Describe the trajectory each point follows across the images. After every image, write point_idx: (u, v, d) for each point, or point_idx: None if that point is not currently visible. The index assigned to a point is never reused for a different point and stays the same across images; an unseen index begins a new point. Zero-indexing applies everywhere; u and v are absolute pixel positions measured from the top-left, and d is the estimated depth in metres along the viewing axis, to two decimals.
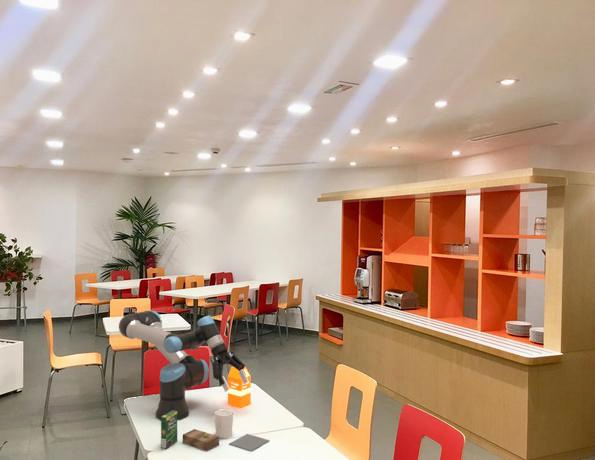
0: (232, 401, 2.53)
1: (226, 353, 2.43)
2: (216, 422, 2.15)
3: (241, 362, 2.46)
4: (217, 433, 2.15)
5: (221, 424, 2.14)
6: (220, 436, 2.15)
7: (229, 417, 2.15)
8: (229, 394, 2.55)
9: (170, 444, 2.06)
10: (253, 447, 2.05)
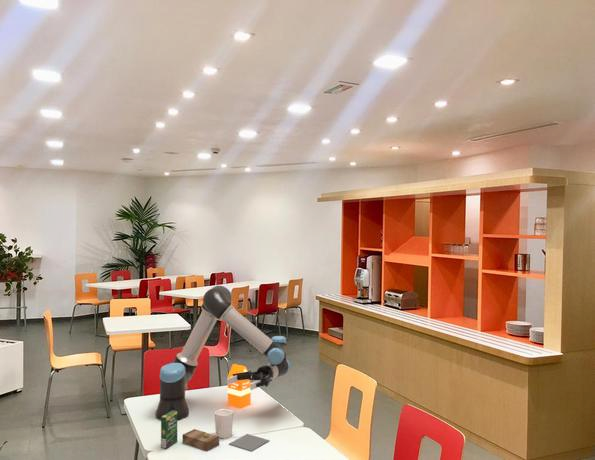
0: (232, 401, 2.53)
1: None
2: (216, 422, 2.15)
3: None
4: (217, 433, 2.15)
5: (221, 424, 2.14)
6: (220, 436, 2.15)
7: (229, 417, 2.15)
8: (229, 394, 2.55)
9: (170, 444, 2.06)
10: (253, 447, 2.05)
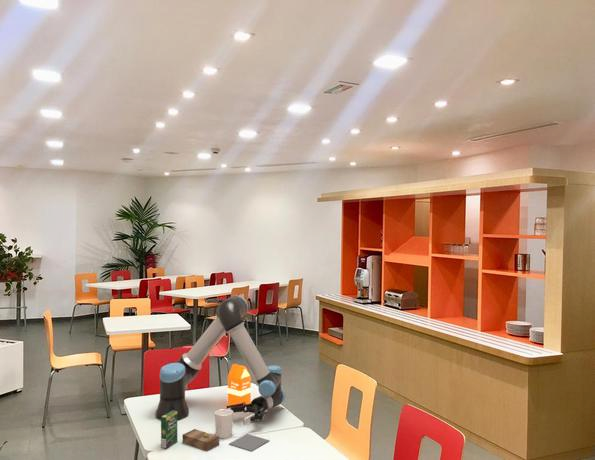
0: (232, 401, 2.53)
1: None
2: (216, 422, 2.15)
3: None
4: (217, 433, 2.15)
5: (221, 424, 2.14)
6: (220, 436, 2.15)
7: (229, 417, 2.15)
8: (229, 394, 2.55)
9: (170, 444, 2.06)
10: (253, 447, 2.05)
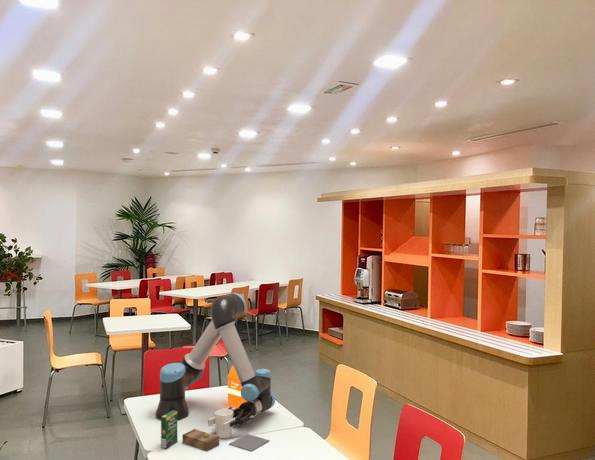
0: (232, 401, 2.53)
1: None
2: (216, 422, 2.15)
3: None
4: (217, 433, 2.15)
5: (221, 424, 2.14)
6: (220, 436, 2.15)
7: (229, 417, 2.15)
8: (229, 394, 2.55)
9: (170, 444, 2.06)
10: (253, 447, 2.05)
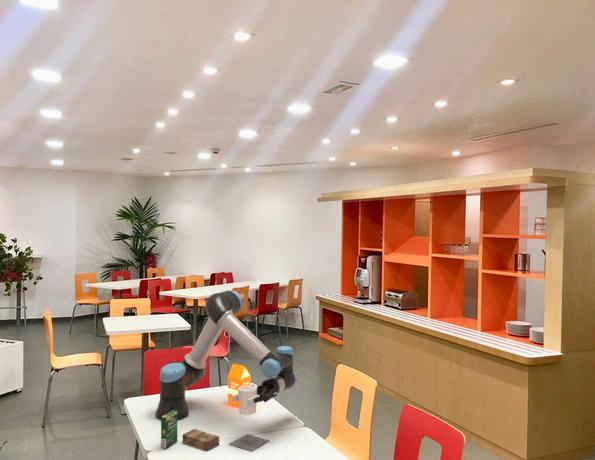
0: None
1: None
2: (240, 398, 2.08)
3: None
4: (241, 409, 2.08)
5: (245, 400, 2.07)
6: (244, 413, 2.08)
7: (254, 393, 2.08)
8: (229, 394, 2.55)
9: (170, 444, 2.06)
10: (253, 447, 2.05)
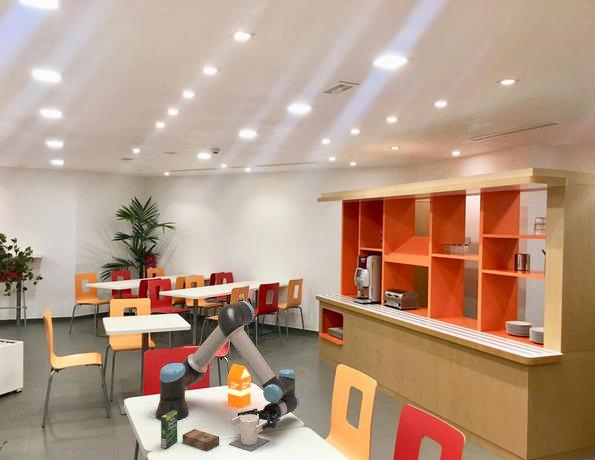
0: (232, 401, 2.53)
1: None
2: (241, 428, 2.08)
3: None
4: (243, 439, 2.08)
5: (247, 430, 2.06)
6: (246, 443, 2.07)
7: (255, 423, 2.07)
8: (229, 394, 2.55)
9: (170, 444, 2.06)
10: (253, 447, 2.05)
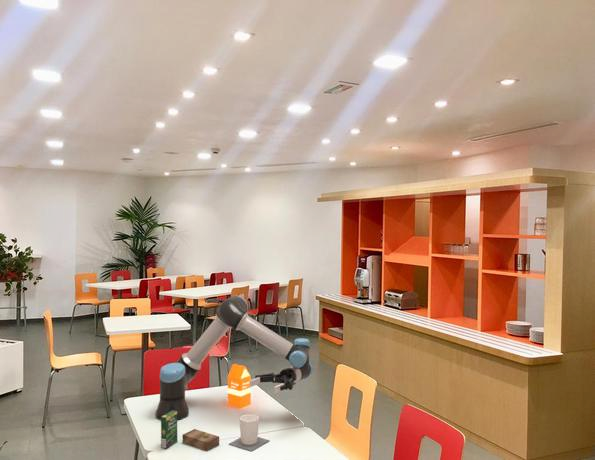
0: (232, 401, 2.53)
1: None
2: (241, 428, 2.08)
3: None
4: (243, 439, 2.08)
5: (247, 430, 2.06)
6: (245, 443, 2.07)
7: (255, 423, 2.08)
8: (229, 394, 2.55)
9: (170, 444, 2.06)
10: (253, 447, 2.05)
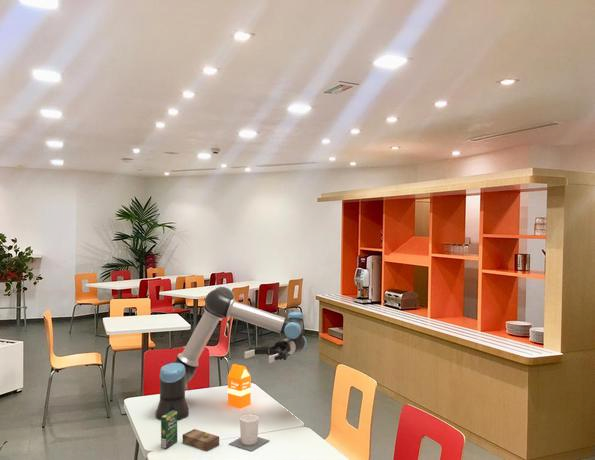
0: (232, 401, 2.53)
1: None
2: (241, 428, 2.08)
3: None
4: (243, 439, 2.08)
5: (247, 430, 2.06)
6: (245, 443, 2.07)
7: (255, 423, 2.08)
8: (229, 394, 2.55)
9: (170, 444, 2.06)
10: (253, 447, 2.05)
